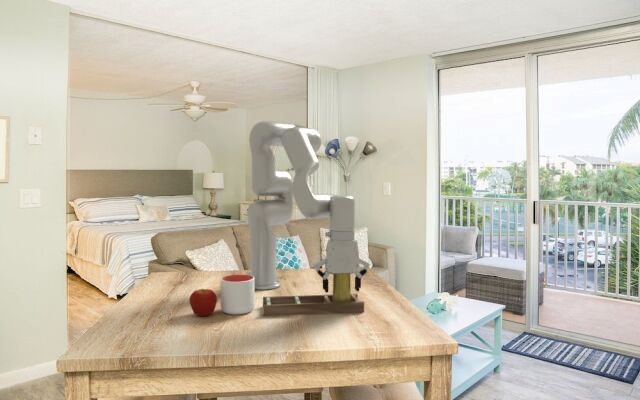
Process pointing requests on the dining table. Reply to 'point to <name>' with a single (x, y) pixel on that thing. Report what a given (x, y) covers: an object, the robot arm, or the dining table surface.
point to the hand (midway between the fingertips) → (341, 290)
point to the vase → (341, 288)
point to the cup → (237, 294)
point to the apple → (203, 302)
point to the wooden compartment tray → (309, 305)
